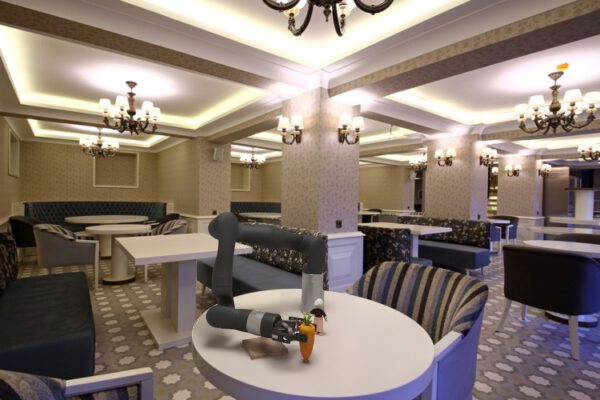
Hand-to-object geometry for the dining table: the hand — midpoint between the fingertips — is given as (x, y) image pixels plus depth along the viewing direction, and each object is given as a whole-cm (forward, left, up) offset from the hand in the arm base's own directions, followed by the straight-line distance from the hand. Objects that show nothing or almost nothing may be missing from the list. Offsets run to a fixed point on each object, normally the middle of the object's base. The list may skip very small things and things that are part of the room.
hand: (312, 333), depth 94 cm
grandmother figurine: (-12, -18, -9) cm, 24 cm away
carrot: (+1, -1, -9) cm, 9 cm away
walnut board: (+10, -14, -9) cm, 20 cm away
